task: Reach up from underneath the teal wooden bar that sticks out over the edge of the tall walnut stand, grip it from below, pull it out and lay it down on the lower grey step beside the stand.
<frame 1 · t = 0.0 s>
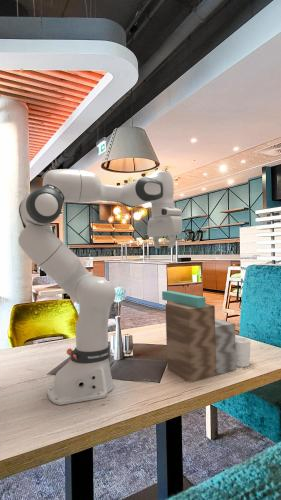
hand: (163, 247, 127), 48 cm above the table, tool pointing down, fingers open, 8 cm apart
teal bar: (182, 302, 128), point 26 cm above the table, touching stand
white cup: (240, 364, 131), on the table
stand: (191, 372, 124), on the table
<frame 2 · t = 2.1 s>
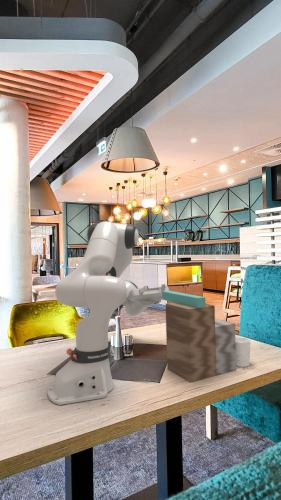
hand: (156, 286, 147), 31 cm above the table, tool pointing upward, fingers open, 8 cm apart
nothing on the table moved.
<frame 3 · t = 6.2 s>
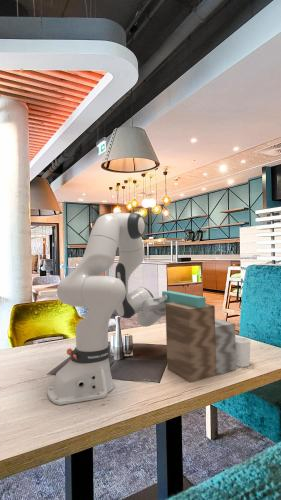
hand: (172, 295, 134), 28 cm above the table, tool pointing upward, fingers closed on teal bar, 3 cm apart
teal bar: (182, 302, 128), point 26 cm above the table, touching gripper, stand
everything else where it was.
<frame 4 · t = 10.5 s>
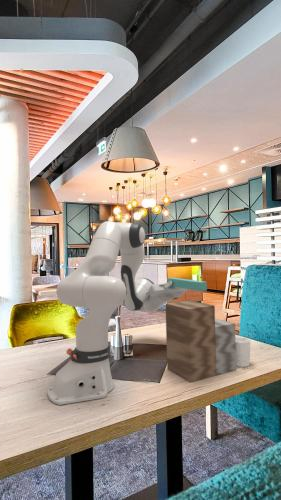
hand: (176, 281, 147), 32 cm above the table, tool pointing upward, fingers closed on teal bar, 3 cm apart
teal bar: (185, 287, 141), point 30 cm above the table, touching gripper
everything else where it was.
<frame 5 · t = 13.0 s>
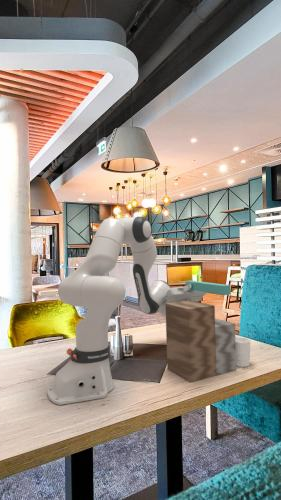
hand: (196, 284, 139), 32 cm above the table, tool pointing upward, fingers closed on teal bar, 3 cm apart
teal bar: (206, 291, 133), point 30 cm above the table, touching gripper
everything else where it was.
when the fingers open (22 cm above the table, at t = 14.9 s): teal bar drops 2 cm, resting on stand.
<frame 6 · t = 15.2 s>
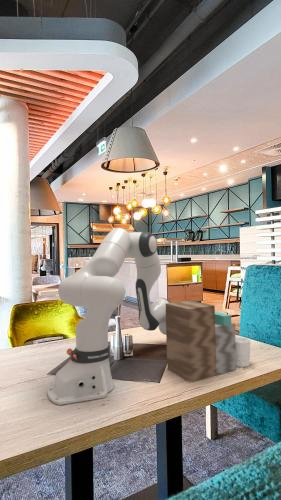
hand: (196, 306, 139), 22 cm above the table, tool pointing upward, fingers open, 7 cm apart
teal bar: (207, 319, 133), point 18 cm above the table, touching stand
everything else where it was.
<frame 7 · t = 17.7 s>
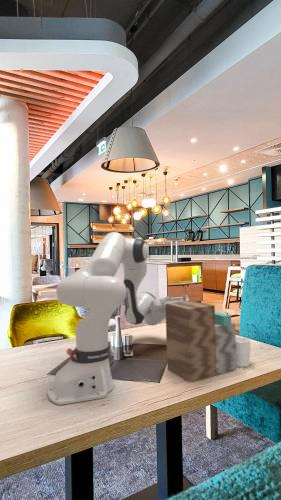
hand: (177, 296, 150), 25 cm above the table, tool pointing upward, fingers open, 8 cm apart
nothing on the table moved.
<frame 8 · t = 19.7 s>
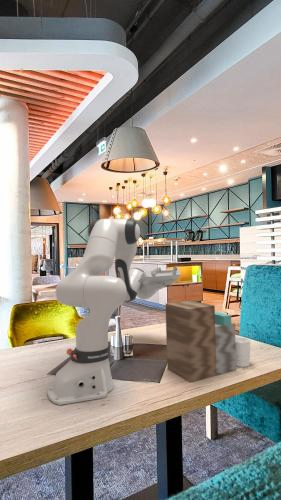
hand: (168, 268, 151), 38 cm above the table, tool pointing upward, fingers open, 8 cm apart
nothing on the table moved.
at the end: teal bar inside the target area (0.1 cm from its centre), point 18.0 cm above the table; the gripper is holding nothing; teal bar moved 14.5 cm from its start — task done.
